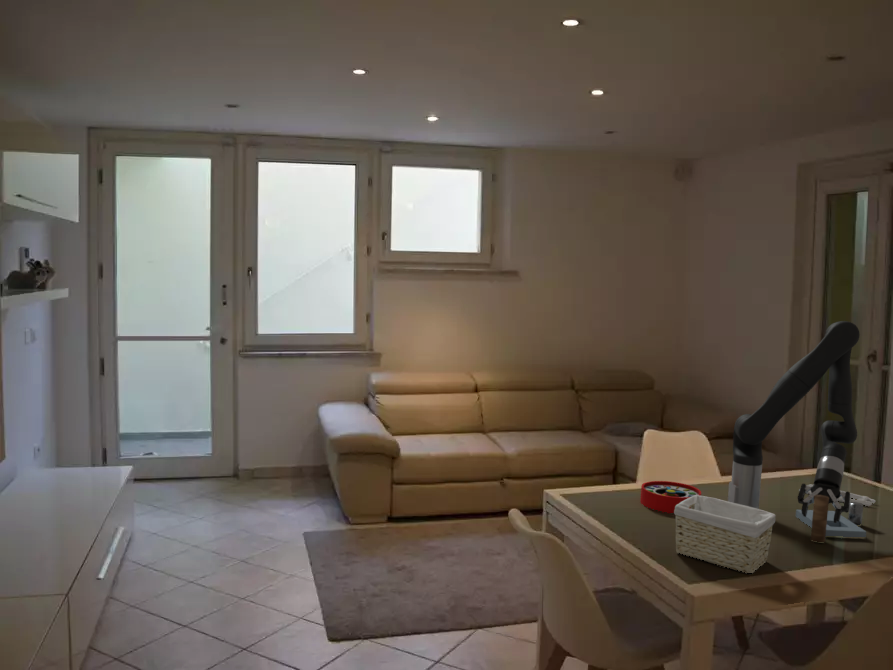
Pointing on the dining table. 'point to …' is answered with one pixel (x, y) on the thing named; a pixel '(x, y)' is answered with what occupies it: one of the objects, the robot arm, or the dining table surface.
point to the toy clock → (666, 494)
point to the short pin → (855, 513)
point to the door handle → (860, 499)
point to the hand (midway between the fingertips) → (819, 518)
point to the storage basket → (723, 532)
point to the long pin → (819, 518)
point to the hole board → (834, 525)
